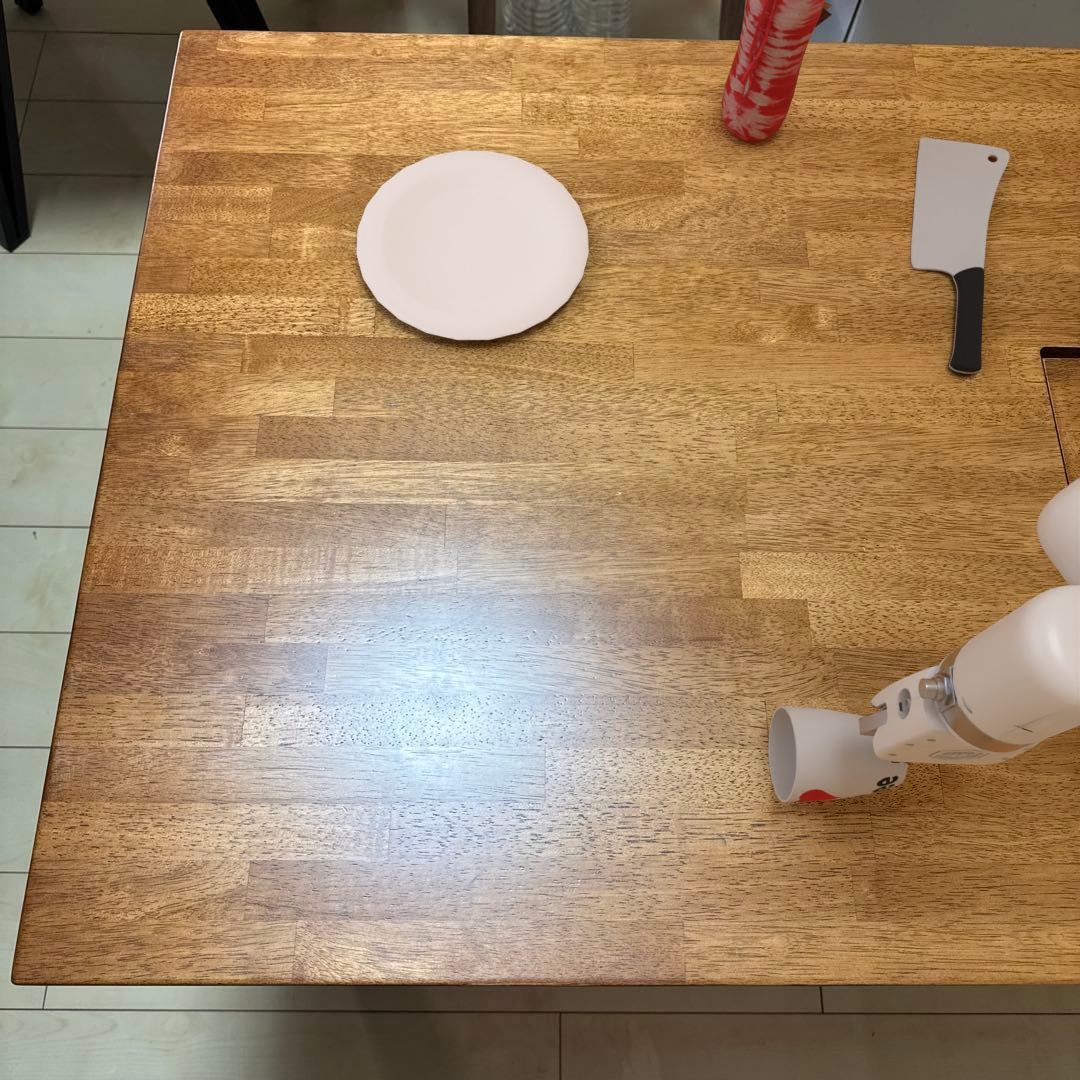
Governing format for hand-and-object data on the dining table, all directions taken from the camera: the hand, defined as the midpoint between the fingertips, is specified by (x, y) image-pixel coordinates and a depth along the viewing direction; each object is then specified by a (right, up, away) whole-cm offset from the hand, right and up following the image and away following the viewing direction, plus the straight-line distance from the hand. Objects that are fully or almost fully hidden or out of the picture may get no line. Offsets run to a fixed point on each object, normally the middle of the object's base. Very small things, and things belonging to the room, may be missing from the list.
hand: (898, 744), depth 84 cm
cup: (+1, -2, +4) cm, 4 cm away
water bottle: (-4, +66, +35) cm, 75 cm away
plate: (-37, +48, +27) cm, 66 cm away
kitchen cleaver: (+16, +48, +29) cm, 58 cm away
